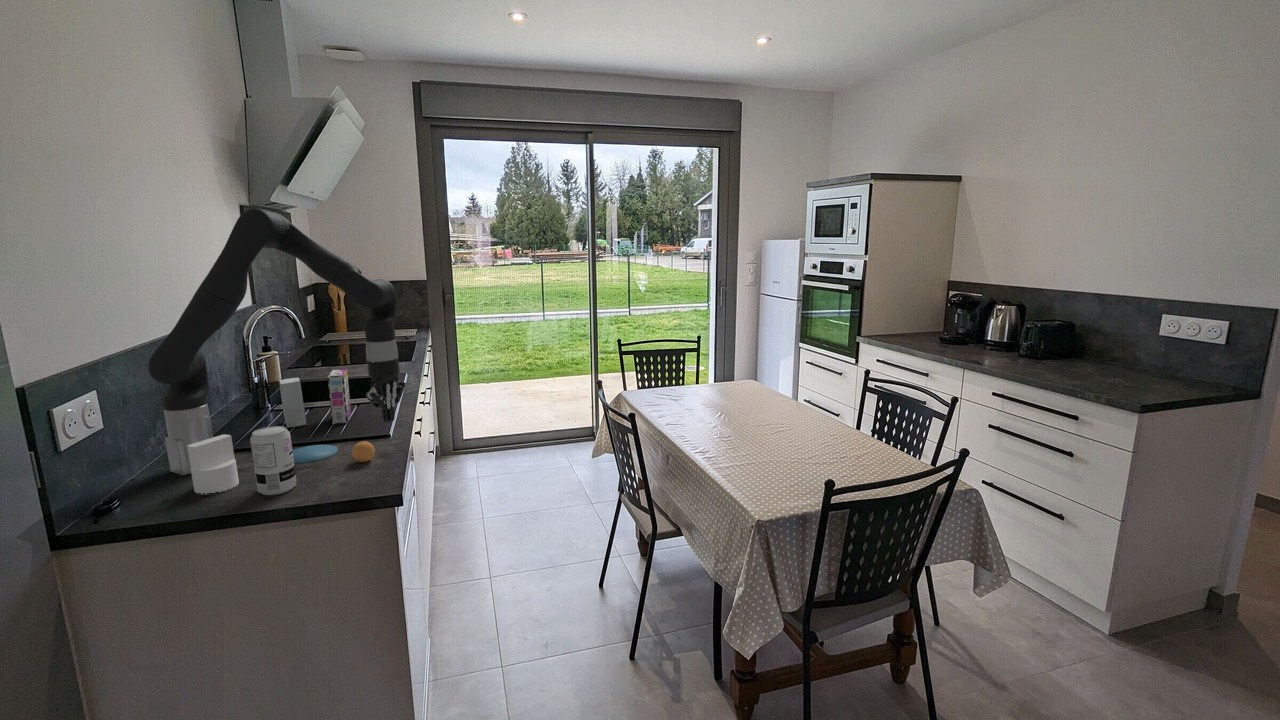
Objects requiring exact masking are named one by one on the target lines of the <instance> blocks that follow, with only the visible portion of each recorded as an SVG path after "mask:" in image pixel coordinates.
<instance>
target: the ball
mask: <svg viewBox="0 0 1280 720" xmlns="http://www.w3.org/2000/svg"><path fill="white" fill-rule="evenodd" d="M375 452H376V450H375V446H374V445H373V444H372V443H371V442H369V441H365V440H363V441H359V442H357V443H356V444H355V445H354V446H353V448H352V451H351V454H352V457H353V459H354V460H355V461H357V462H359V463H365V462H369V461H371V460H372V459H373V457H374V456H375V454H376V453H375Z"/></svg>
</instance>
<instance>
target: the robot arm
mask: <svg viewBox="0 0 1280 720" xmlns="http://www.w3.org/2000/svg"><path fill="white" fill-rule="evenodd" d="M264 248H265V249H276V250H277V251H281V252H282V253H285V254H288V255H290V256H292V257H294V258H296V259H298V260H299V261H301V262H302V263H303V264H305V265H306V267H308V268H309V270H311V271H312V272H313V273H314V274H316V276H318V277H320V278H321V279H322V280H324V281H325V282H327V283H330V284H331V285H333V286H335V287H336V288H338V289H340V290H341V291H342V292H343V293H344V294H345V295H346V296H347V297H349V299H351V300H352V301H353V302H354V303H356V304H357V305H359V306H361V307H363V308H365V309H370V312H369V313H370V314H369V317H368V318H366V320H365V321H364V334H365V354H366V355H365V356H366V363H367V365H366V366H367V373H368V376H369V377H370V378H371V384H370V387H371V388H370V389H369V391H366V392H365V393H364V396H365V398H366V399H367V400H368V401H369V402H370V403H371V404H372V406H373V407H375V408H376V409H378V408H379V409H381V414H382V420H383V421H384V422H385V423H391V422H394V421H395V406H396V404H399V403H400V401H401V398H402V396H403V393H404V390H405V387H406V385H407V384H406V383H407V382H403V381H401V380H400V379H399V378H400V377H399V376H398V375H399V374H400V371H401V370H400V360H399V352H398V351H399V350H398V344H397V341H396V340H397V339H396V331H395V323H394V322H395V316H396V309H397V293H396V289H395V287H394V284H392V283H391V282H390V281H389V280H387V279H383V278H379V279H372V280H371V279H370V278H367V277H365V276H364V275H363V274H362V273H363V272H362V271H361V269H360V268H359V267H358V266H356V264H354V263H352V262H350V261H349V260H348V259H347V260H346V259H345V258H344V257H342V256H340V255H338V254H336V253H335V252H333V251H331V250H330V249H328V248H327V247H324V246H323V245H321V244H319V243H318V242H317V241H315V240H314V239H312V238H311V237H309V236H308V235H306V233H304V232H302V231H301V230H300V229H299V228H298V227H296V226H295V225H294V224H293V223H292V222H290V221H289V220H288V218H286V217H284V216H283V215H281V214H280V213H278V212H274V211H271V210H268V209H262V208H256V207H255V208H249V209H246V210H245V211H244V212H243V213H242V214H240V215H239V217H238V218H237V220H236V222H235V224H234V226H233V228H232V230H231V232H230V234H229V237H228V239H227V241H226V243H225V245H224V247H223V249H222V251H221V252H220V254H219V256H218V257H217V259H216V260H215V262H214V263H213V265H212V267H211V268H210V270H209V272H208V273H207V275H206V276H205V278H204V279H203V280H202V282H201V284H200V285H199V286H198V288H197V289H196V290H195V292H194V295H193V296H192V297H191V300H190V301H189V303H188V304H187V306H186V307H185V309H184V311H183V312H182V314H181V316H180V317H179V319H178V320H177V322H176V324H175V326H174V327H173V328H172V330H171V331H170V333H168V335H167V337H165V338H164V340H163V341H162V342H161V343H160V344H159V346H158V347H157V348H156V349H155V350H154V352H153V353H152V354H151V356H149V357H150V358H149V360H148V364H147V367H148V368H147V369H148V372H149V376H150V377H151V378H152V379H153V380H154V381H155V382H157V383H159V384H164V385H169V387H168V390H167V392H166V393H165V395H163V397H162V399H161V400H162V401H161V402H162V408H163V413H164V415H163V416H164V420H165V426H166V432H167V436H165V437H164V441H165V447H166V452H167V459H168V464H169V469H170V472H172V473H174V474H177V475H180V476H185V475H190V474H191V465H190V459H189V453H188V447H187V445H190V444H194V443H197V442H200V441H203V440H207V439H210V438H213V437H214V435H213V429H212V423H211V416H210V410H209V405H208V396H209V395H208V393H209V390H210V386H209V376H208V367H207V361H206V358H205V356H204V354H203V352H202V351H201V350H200V349H201V347H202V346H203V345H204V344H205V342H207V341H208V340H209V339H210V338H211V337H212V336H213V335H215V333H216V332H218V330H220V329H221V328H222V327H223V326H225V324H226V323H227V322H228V321H229V320H230V319H232V318H231V317H232V316H233V315H234V314H235V313H236V311H237V309H238V308H239V307H240V306H241V303H242V302H243V300H244V298H245V296H246V293H247V290H248V276H249V270H250V267H251V265H252V264H253V262H254V261H255V259H256V257H257V256H258V255H259V253H260V252H261V251H262V249H264ZM191 475H192V474H191Z"/></svg>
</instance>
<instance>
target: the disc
mask: <svg viewBox="0 0 1280 720" xmlns="http://www.w3.org/2000/svg"><path fill="white" fill-rule="evenodd" d="M292 451H293V459H294V464H303V463H306V464H307V463H312V462H311V461H313V462H317V461H321V460H324V459H327V458H330V457H332V456H334V455H335V454H337V453H338V451H339V448H338V447H337V446H335V445H332V444H313V445H307V446H302V447H299V448H295V449H292Z"/></svg>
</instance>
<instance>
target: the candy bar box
mask: <svg viewBox="0 0 1280 720" xmlns="http://www.w3.org/2000/svg"><path fill="white" fill-rule="evenodd" d="M327 382H328V383H327V384H328V385H327V386H328V393H329V402H330V403H329V404H330V413H331V423H332V425H341V424H344V423H345V424H348V423H349V422H350V421H349V420H350V418H351V417H352V416H351V415H352V411H351V401H350V400H351V399H350V389H349V388H350V385H349V378H348V369H347V368H345V369H343V368H342V369H332V370H331V372H329V374H328V376H327Z"/></svg>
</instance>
